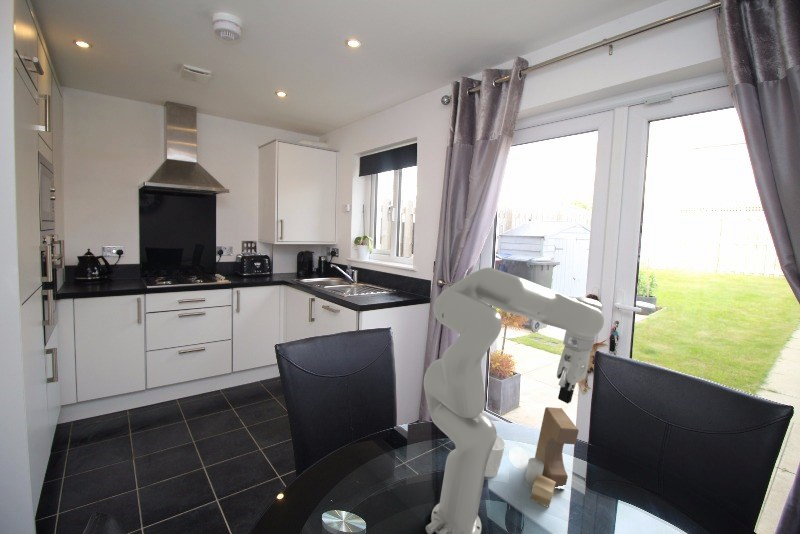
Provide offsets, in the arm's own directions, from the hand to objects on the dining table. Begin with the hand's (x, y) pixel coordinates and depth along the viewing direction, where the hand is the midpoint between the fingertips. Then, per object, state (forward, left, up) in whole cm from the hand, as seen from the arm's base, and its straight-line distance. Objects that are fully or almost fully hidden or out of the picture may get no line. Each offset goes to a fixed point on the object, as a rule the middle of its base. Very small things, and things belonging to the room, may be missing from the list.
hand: (564, 400), depth 113 cm
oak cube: (-9, -3, -26) cm, 28 cm away
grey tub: (-5, +2, -26) cm, 26 cm away
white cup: (-13, +13, -26) cm, 32 cm away
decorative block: (+1, 0, -26) cm, 26 cm away
